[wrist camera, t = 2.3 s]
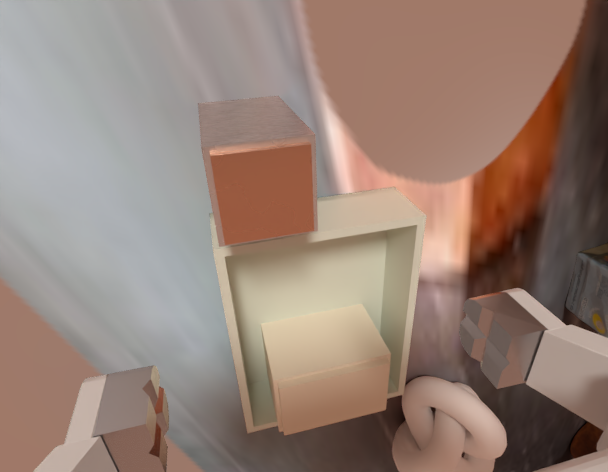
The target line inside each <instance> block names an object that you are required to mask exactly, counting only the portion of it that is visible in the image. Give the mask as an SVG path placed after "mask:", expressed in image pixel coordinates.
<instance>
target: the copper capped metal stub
mask: <svg viewBox="0 0 608 472" xmlns="http://www.w3.org/2000/svg"><path fill="white" fill-rule="evenodd" d="M198 110H199V123H200V136H201V148H202V154H203V159H204V165H205V171H206V176H207V182H208V187H209V193H210V199H211V204H212V210H213V215H214V221H215V227H216V232H217V238H218V244H219V247H223V246H229V245H235V244H242V243H248V242H254V241H260V240H267V239H273V238H279V237H285V236H291V235H298V234H304V233H310V232H316V231H318V213H317V178H316V143H315V134H314V132H313V131H312V130H311V129H310V128H309V127H308V126H307V125H306V124H305V123H304V122H303V121H302V120H301V119H300V118H299V117H298V116H297V115H296V114H295V113H294V112H293V111H292V110H291V109H290V108H289V106H288V105H287V104H286V103H285V102H284V101H283V100H282V99H281V98H280V97H279V96H270V97H259V98H249V99H238V100H228V101H217V102H207V103H198Z"/></svg>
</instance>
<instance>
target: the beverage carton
mask: <svg viewBox="0 0 608 472" xmlns="http://www.w3.org/2000/svg"><path fill="white" fill-rule="evenodd" d="M565 306H566V308H567V309H568V310H570V311H571V312H572V313H573V314H575V316H576V317H577V318H579V319H580V320H582V321H583V322H584V323H586V324H587V325H589V326H590V327H591V328H593V329H594V330H595V331H597V332H598V333H599V334H600V335H601V336H604V337H607V338H608V243H606V244H604V245H601V246H598V247H594V248H591V249H588V250H584V251H581V252H579V253H578V254H577V259H576V264H575V268H574V272H573V276H572V280H571V284H570V288H569V292H568V296H567V300H566V305H565Z"/></svg>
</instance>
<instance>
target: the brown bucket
mask: <svg viewBox="0 0 608 472" xmlns="http://www.w3.org/2000/svg"><path fill="white" fill-rule="evenodd" d="M603 432H604V431H603V430H601V429H600V428H598V427H596V426H595V425H593V424H591V423H590V422H587V423H586V424H585V425H584V426H583V427H582V428H581V429H580V430H579V431H578V432H577V434H576V435H575V437H574V439H573V441H572V443H571V448H570V450H571V454H572V456H573V457H574V459H575V458H578V457H582V456H585V455H588V454H591V453H594V452H598V451H597V443H598V441H599V439H600V437H601V435H602V433H603Z"/></svg>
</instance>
